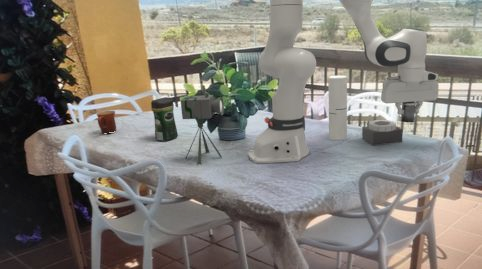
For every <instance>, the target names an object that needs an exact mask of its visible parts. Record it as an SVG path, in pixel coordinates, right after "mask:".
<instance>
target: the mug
mask: <svg viewBox="0 0 482 269" xmlns="http://www.w3.org/2000/svg"><path fill="white" fill-rule="evenodd" d="M115 115H116V111H115V110H103V111H99V112H97V113H96V116H97V123H98V126H99V129H100V132H101V133H102V134H103V133H109V132H114V131H116V132H117V124H116V118H115V117H116V116H115Z"/></svg>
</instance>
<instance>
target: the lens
mask: <svg viewBox="0 0 482 269" xmlns="http://www.w3.org/2000/svg"><path fill="white" fill-rule="evenodd" d="M416 105H417V103H416V102H402V105H401V109H402V110H404V114H403V115H400V116H401V117H400V122H402V123H409V124H410V123H414V122H415V116H416V114H415V106H416Z"/></svg>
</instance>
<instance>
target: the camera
mask: <svg viewBox="0 0 482 269" xmlns="http://www.w3.org/2000/svg"><path fill="white" fill-rule="evenodd" d="M224 106H225V105H224V99H223V97H222V96H220V97H218V98H217V99H215V97H214V94H210V91H208V92H204V93H203V95H185V97H184V98H181V100H180V108H181V115H182V116H181V118H182V120H197V127H198V129H197V131H196V133H195V136H194V138H193V140H192V143H191V145H190V147H189V149H188V152H187V154H186V157H185V158H186V159H187V158H188V156H189V154H190V152H191V148H192V146H193V144H194V142H195V140H196V137H197V135H198V134H199V135H198V149H197V150H198V151H197V164H201V165H202V141H203V145H204V149H205V153H210V149H209V146H208V144H207V140H206V137H207V138H208V141H209V142H210V144H211V145H212V146H213V149H215V151H216V153H217V154H218V156H219V158H220V159H223V155H222V154H221V152H219V150H218V148H217V147H216V145H215V144H214V142H213V141H212V139H211V137H209V135H208V134H207V132H206V130H205V129H204V128H203V127H204V123H203V120H204V119H207V120H208V119H211V118H212V117H213V116H214V115H215V114H217V115H220V116H223V115H224V110H225V109H224V108H225V107H224ZM198 132H199V133H198ZM205 135H206V137H205ZM197 164H196V165H197Z"/></svg>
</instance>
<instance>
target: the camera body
mask: <svg viewBox="0 0 482 269" xmlns="http://www.w3.org/2000/svg"><path fill="white" fill-rule="evenodd" d="M396 124H397V123H396V122H395V121H393V120H388V119H376V120H375V119H374V120H371V121H368V126H367V125H366V126H362V127H361V128H362V130H361V131H362V133H361V135H362V136H361V139H362V140H363V141H365V142H366V143H368V144H369V145H371V146H379V145H387V144H388V145H389V144H396V143H402V142H403V134H404V133H403V130H404V129H403V128H401V127H400V126H397V125H396Z"/></svg>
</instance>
